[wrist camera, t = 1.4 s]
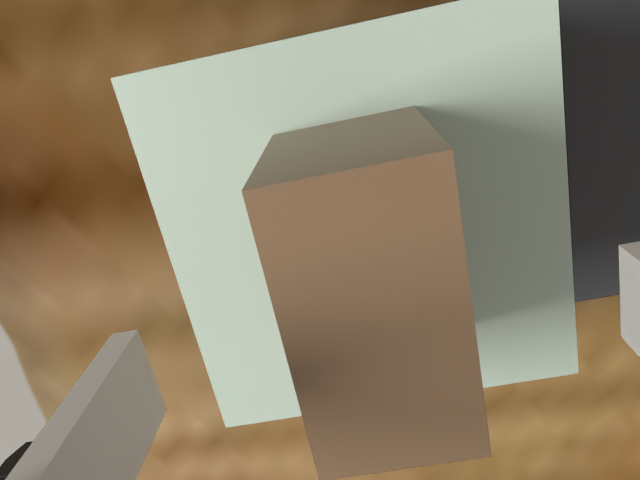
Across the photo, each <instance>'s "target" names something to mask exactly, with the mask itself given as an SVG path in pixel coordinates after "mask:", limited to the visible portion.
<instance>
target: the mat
mask: <svg viewBox="0 0 640 480" xmlns="http://www.w3.org/2000/svg"><path fill="white" fill-rule="evenodd" d="M558 3H559V22H560V40H561V59H562V77H563V96H564V114H565V133H566V151H567V170H568V188H569V207H570V225H571V244H572V262H573V281H574V299H575V302H578V301H584V300H590V299H596V298H602V297H608V296H614V295H620V280H619V245H622V244H627V243H633V242H639V241H640V0H558Z"/></svg>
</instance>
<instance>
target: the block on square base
mask: <svg viewBox="0 0 640 480" xmlns="http://www.w3.org/2000/svg"><path fill="white" fill-rule="evenodd" d="M111 81H112V84H113V87H114V90H115V93H116V96H117V99H118V102H119V105H120V108H121V111H122V115H123V118H124V121H125V124H126V127H127V130H128V133H129V136H130V139H131V142H132V145H133V148H134V151H135V154H136V157H137V160H138V163H139V166H140V169H141V172H142V175H143V178H144V181H145V184H146V187H147V190H148V193H149V196H150V199H151V202H152V205H153V208H154V211H155V214H156V217H157V221H158V224H159V227H160V230H161V233H162V236H163V239H164V242H165V245H166V248H167V251H168V254H169V257H170V260H171V263H172V266H173V269H174V272H175V275H176V278H177V281H178V284H179V287H180V290H181V293H182V296H183V299H184V302H185V305H186V308H187V311H188V314H189V317H190V320H191V323H192V327H193V330H194V333H195V336H196V339H197V342H198V345H199V348H200V351H201V354H202V357H203V360H204V363H205V366H206V369H207V372H208V375H209V378H210V381H211V384H212V387H213V390H214V393H215V396H216V399H217V402H218V405H219V408H220V411H221V414H222V417H223V420H224V423H225V426H226V427H233V426H239V425H246V424H252V423H259V422H265V421H272V420H278V419H285V418H291V417H298V416H302V418H303V422H304V426H305V429H306V433H307V437H308V440H309V444H310V448H311V452H312V455H313V459H314V463H315V466H316V470H317V474H318V478H319V480H331V479H338V478H345V477H352V476H359V475H366V474H373V473H380V472H387V471H395V470H402V469H409V468H416V467H423V466H430V465H437V464H444V463H451V462H458V461H465V460H472V459H479V458H486V457H492V455H491V447H490V439H489V431H488V424H487V416H486V408H485V400H484V392H483V388H486V387H492V386H499V385H505V384H511V383H518V382H524V381H531V380H537V379H544V378H550V377H557V376H563V375H570V374H576V373H578V355H577V336H576V318H575V299H574V281H573V262H572V244H571V225H570V207H569V188H568V170H567V151H566V133H565V114H564V96H563V77H562V59H561V40H560V22H559V3H558V0H457V1H453V2H448V3H444V4H439V5H435V6H430V7H426V8H421V9H417V10H412V11H408V12H404V13H399V14H395V15H390V16H386V17H381V18H377V19H372V20H368V21H363V22H359V23H354V24H350V25H345V26H341V27H336V28H332V29H327V30H323V31H318V32H314V33H309V34H305V35H300V36H296V37H291V38H287V39H282V40H278V41H273V42H269V43H265V44H260V45H256V46H251V47H247V48H242V49H238V50H233V51H229V52H224V53H220V54H215V55H211V56H206V57H202V58H197V59H193V60H188V61H184V62H179V63H175V64H170V65H166V66H161V67H157V68H152V69H148V70H143V71H139V72H134V73H130V74H125V75H121V76H117V77H114V78H111Z"/></svg>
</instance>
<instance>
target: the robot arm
mask: <svg viewBox="0 0 640 480" xmlns="http://www.w3.org/2000/svg"><path fill="white" fill-rule="evenodd" d="M619 280H620V316H621V337H622V338H623V339H624V341H625V342H626V343H627V344H628V345H629V346H630V347H631V348H632V349H633V350H634V351H635V353H636V354H637V355H638V356H639V357H640V241H639V242H633V243H627V244H622V245H619ZM166 410H167V409H166V407H165V404H164V401H163V398H162V396H161V393H160V390H159V387H158V385H157V382H156V379H155V376H154V374H153V371H152V368H151V365H150V363H149V360H148V357H147V354H146V352H145V349H144V346H143V343H142V341H141V338H140V335H139V332H138V330H133V331H127V332H121V333H116V334H112V335H111V336H110V337H109V339H108V340H107V341H106V343H105V344H104V346H103V347H102V348H101V350H100V351H99V352H98V354H97V355H96V356H95V358H94V359H93V360H92V362H91V363H90V365H89V366H88V367H87V369H86V370H85V371H84V373H83V374H82V375H81V377H80V378H79V380H78V381H77V382H76V384H75V385H74V386H73V388H72V389H71V390H70V392H69V393H68V395H67V396H66V397H65V399H64V400H63V401H62V403H61V404H60V405H59V407H58V408H57V410H56V411H55V412H54V414H53V415H52V416H51V418H50V419H49V420H48V422H47V423H46V425H45V426H44V427H43V429H42V430H41V431H40V433H39V434H38V435H37V437H36V438H35V439H34V441H32V442H26V443H25V444H24V445H22V446H21V447H20V448H19V449H18V450H16V451H15V452H14V453H13V454H12V455H11V456H10V457H8V458H7V459H6V460H5V461H4V463H3V464H2V465H1V467H0V480H136V477H137V475H138V473H139V471H140V468H141V466H142V464H143V462H144V459H145V457H146V455H147V453H148V450H149V448H150V446H151V444H152V441H153V439H154V437H155V435H156V432H157V430H158V428H159V426H160V423H161V421H162V419H163V417H164V414H165V412H166Z"/></svg>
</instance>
